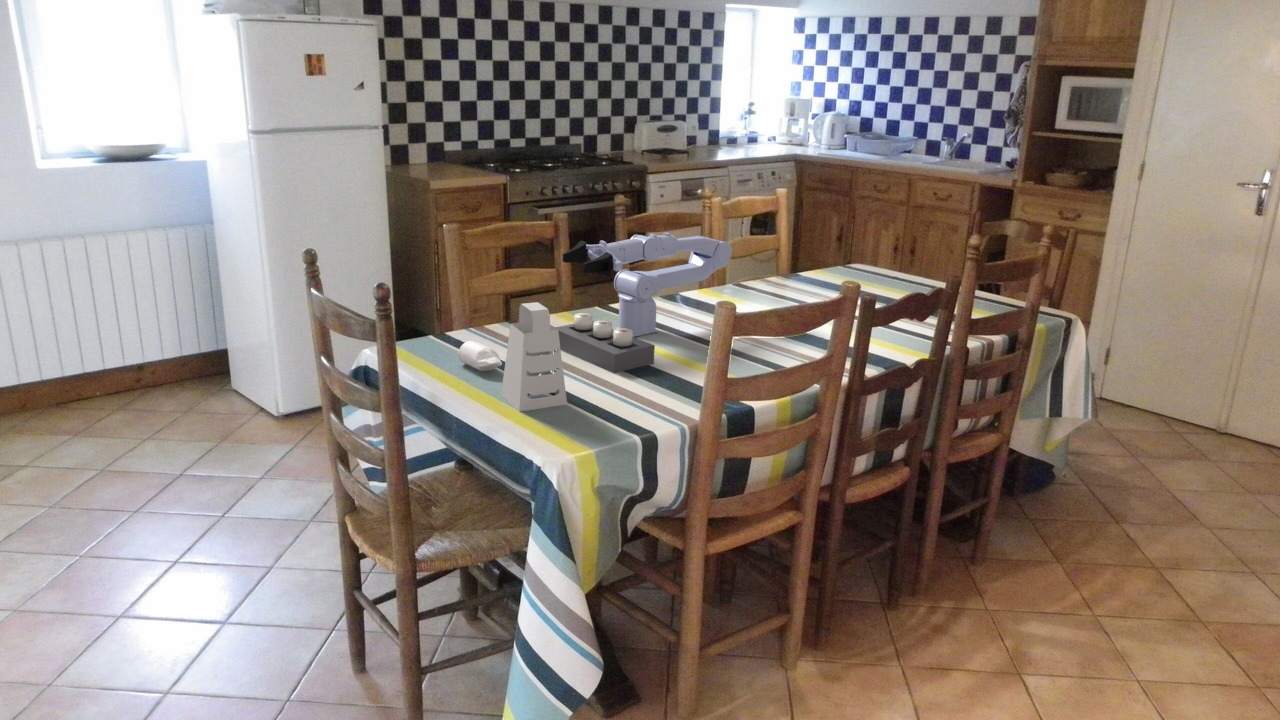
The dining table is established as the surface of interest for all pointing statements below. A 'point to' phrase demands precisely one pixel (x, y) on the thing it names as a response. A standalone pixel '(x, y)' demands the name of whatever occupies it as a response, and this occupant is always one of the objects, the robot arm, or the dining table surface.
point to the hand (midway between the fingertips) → (573, 263)
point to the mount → (605, 349)
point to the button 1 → (583, 321)
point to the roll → (479, 356)
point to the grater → (533, 361)
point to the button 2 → (622, 337)
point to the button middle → (602, 329)
